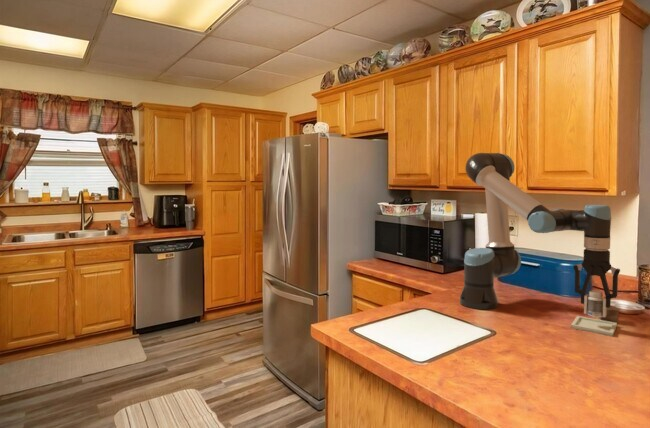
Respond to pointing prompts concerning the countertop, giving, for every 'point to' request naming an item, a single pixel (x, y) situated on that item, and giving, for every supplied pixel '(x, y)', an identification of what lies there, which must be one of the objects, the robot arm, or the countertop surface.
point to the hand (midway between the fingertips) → (595, 314)
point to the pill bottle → (595, 304)
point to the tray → (594, 325)
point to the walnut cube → (611, 315)
